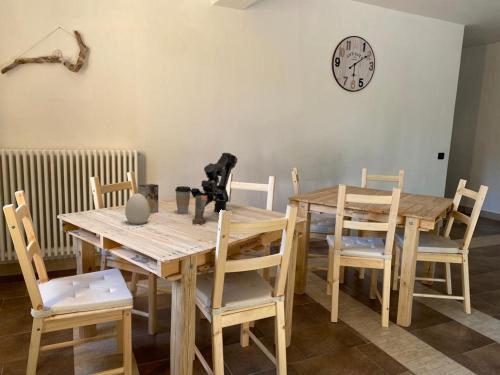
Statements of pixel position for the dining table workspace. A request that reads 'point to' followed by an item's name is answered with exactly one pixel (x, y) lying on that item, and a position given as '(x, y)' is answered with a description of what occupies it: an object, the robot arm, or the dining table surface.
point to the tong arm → (203, 204)
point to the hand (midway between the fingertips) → (203, 206)
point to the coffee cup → (182, 199)
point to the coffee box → (150, 195)
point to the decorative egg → (137, 209)
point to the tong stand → (198, 212)
